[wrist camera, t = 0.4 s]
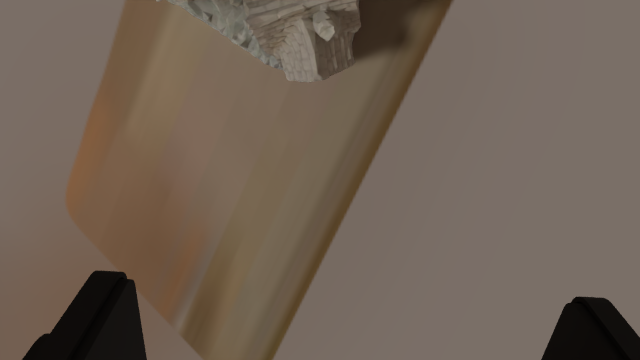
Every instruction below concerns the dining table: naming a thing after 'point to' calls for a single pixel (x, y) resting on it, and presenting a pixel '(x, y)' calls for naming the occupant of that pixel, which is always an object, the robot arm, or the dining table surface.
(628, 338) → the robot arm
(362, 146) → the dining table surface
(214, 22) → the grey rough lump
